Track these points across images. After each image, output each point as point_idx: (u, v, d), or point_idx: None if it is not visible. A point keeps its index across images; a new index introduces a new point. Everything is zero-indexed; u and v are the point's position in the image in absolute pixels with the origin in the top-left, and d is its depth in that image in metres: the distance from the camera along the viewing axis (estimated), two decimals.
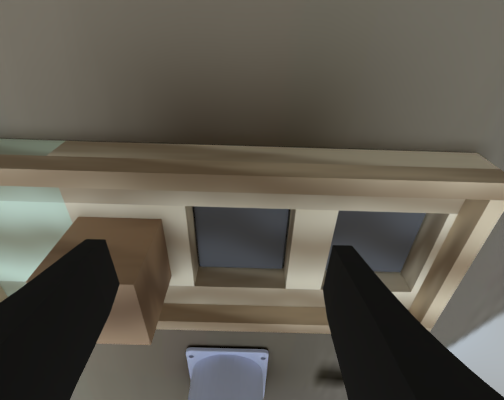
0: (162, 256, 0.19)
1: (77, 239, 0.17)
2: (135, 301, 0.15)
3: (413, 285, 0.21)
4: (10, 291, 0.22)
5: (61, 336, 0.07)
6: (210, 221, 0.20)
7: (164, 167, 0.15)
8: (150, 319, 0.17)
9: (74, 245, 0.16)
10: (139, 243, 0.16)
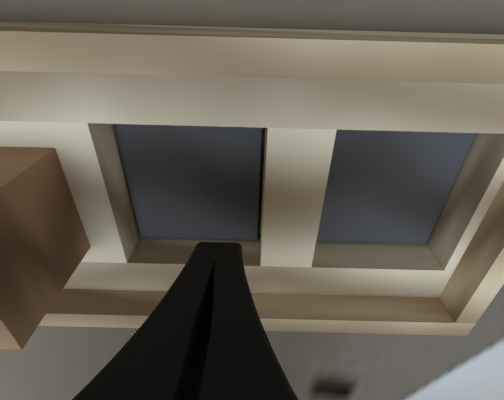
0: (60, 209, 0.12)
1: None
2: None
3: (448, 260, 0.14)
4: None
5: (203, 339, 0.07)
6: (146, 163, 0.14)
7: (22, 29, 0.08)
8: (19, 306, 0.10)
9: None
10: None
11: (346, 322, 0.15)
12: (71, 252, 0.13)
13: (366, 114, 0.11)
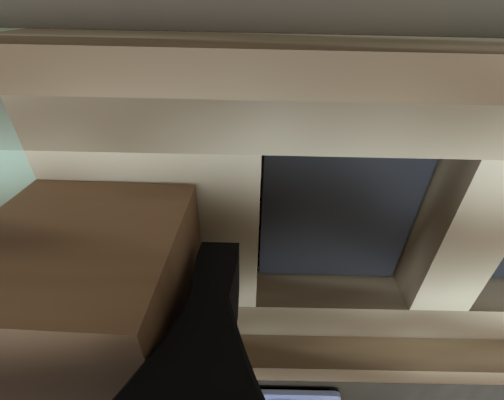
0: (195, 258, 0.10)
1: (22, 219, 0.08)
2: None
3: None
4: None
5: None
6: (289, 194, 0.12)
7: (241, 44, 0.06)
8: None
9: (12, 231, 0.07)
10: (152, 230, 0.07)
11: None
12: None
13: None
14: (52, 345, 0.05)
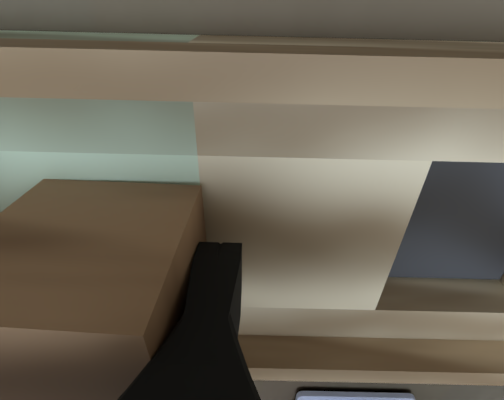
0: None
1: (29, 218, 0.08)
2: None
3: None
4: None
5: None
6: (420, 198, 0.12)
7: (475, 54, 0.07)
8: None
9: (19, 230, 0.07)
10: (158, 230, 0.07)
11: None
12: None
13: None
14: (58, 345, 0.05)
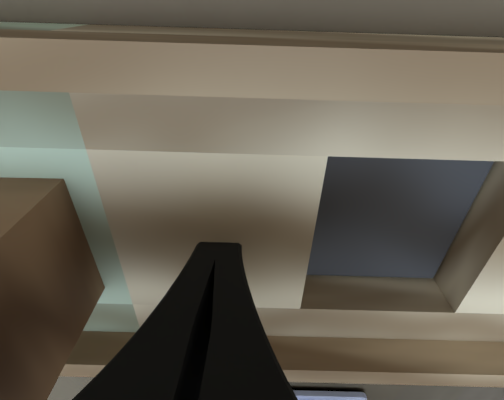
0: (70, 252, 0.10)
1: None
2: None
3: None
4: None
5: (203, 339, 0.07)
6: (339, 195, 0.12)
7: (334, 44, 0.06)
8: (21, 387, 0.08)
9: None
10: None
11: None
12: (83, 300, 0.11)
13: None
14: None
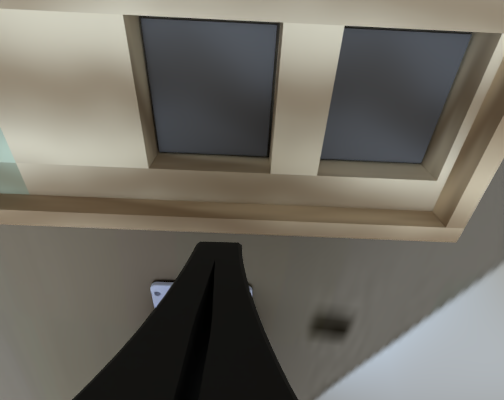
0: None
1: None
2: None
3: (441, 170, 0.16)
4: None
5: (203, 339, 0.07)
6: (169, 71, 0.15)
7: None
8: None
9: None
10: None
11: (347, 226, 0.16)
12: None
13: (371, 10, 0.12)
14: None
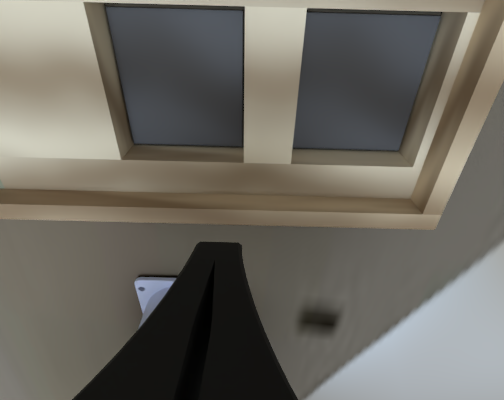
0: None
1: None
2: None
3: (416, 156, 0.16)
4: None
5: (202, 339, 0.07)
6: (137, 60, 0.15)
7: None
8: None
9: None
10: None
11: (322, 214, 0.16)
12: None
13: None
14: None
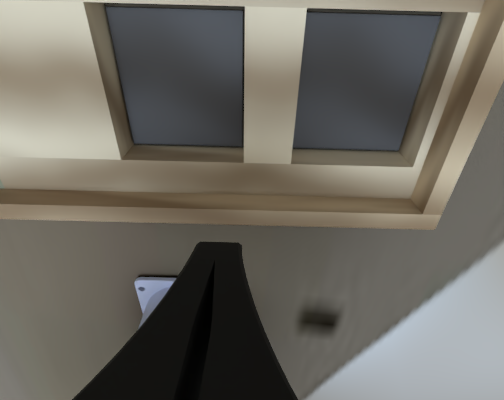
0: None
1: None
2: None
3: (416, 156, 0.16)
4: None
5: (202, 339, 0.07)
6: (137, 60, 0.15)
7: None
8: None
9: None
10: None
11: (322, 214, 0.16)
12: None
13: None
14: None
